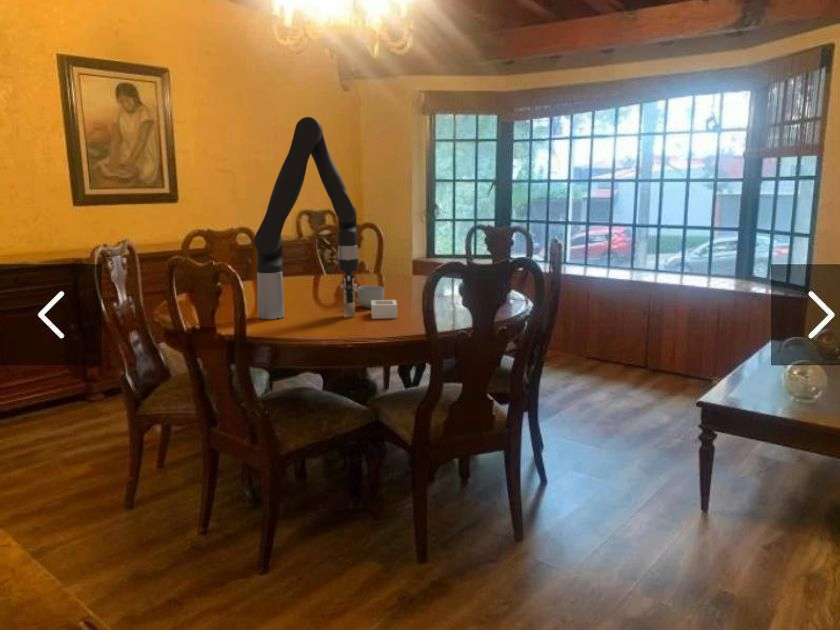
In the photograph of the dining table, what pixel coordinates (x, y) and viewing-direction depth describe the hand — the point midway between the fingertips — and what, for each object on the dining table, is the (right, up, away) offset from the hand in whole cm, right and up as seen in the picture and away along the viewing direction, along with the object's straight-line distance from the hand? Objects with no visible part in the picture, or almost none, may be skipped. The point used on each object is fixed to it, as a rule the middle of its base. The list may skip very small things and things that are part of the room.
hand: (350, 300), depth 252 cm
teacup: (+5, -2, +20) cm, 21 cm away
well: (+13, -6, +2) cm, 14 cm away
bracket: (0, -6, +1) cm, 6 cm away
